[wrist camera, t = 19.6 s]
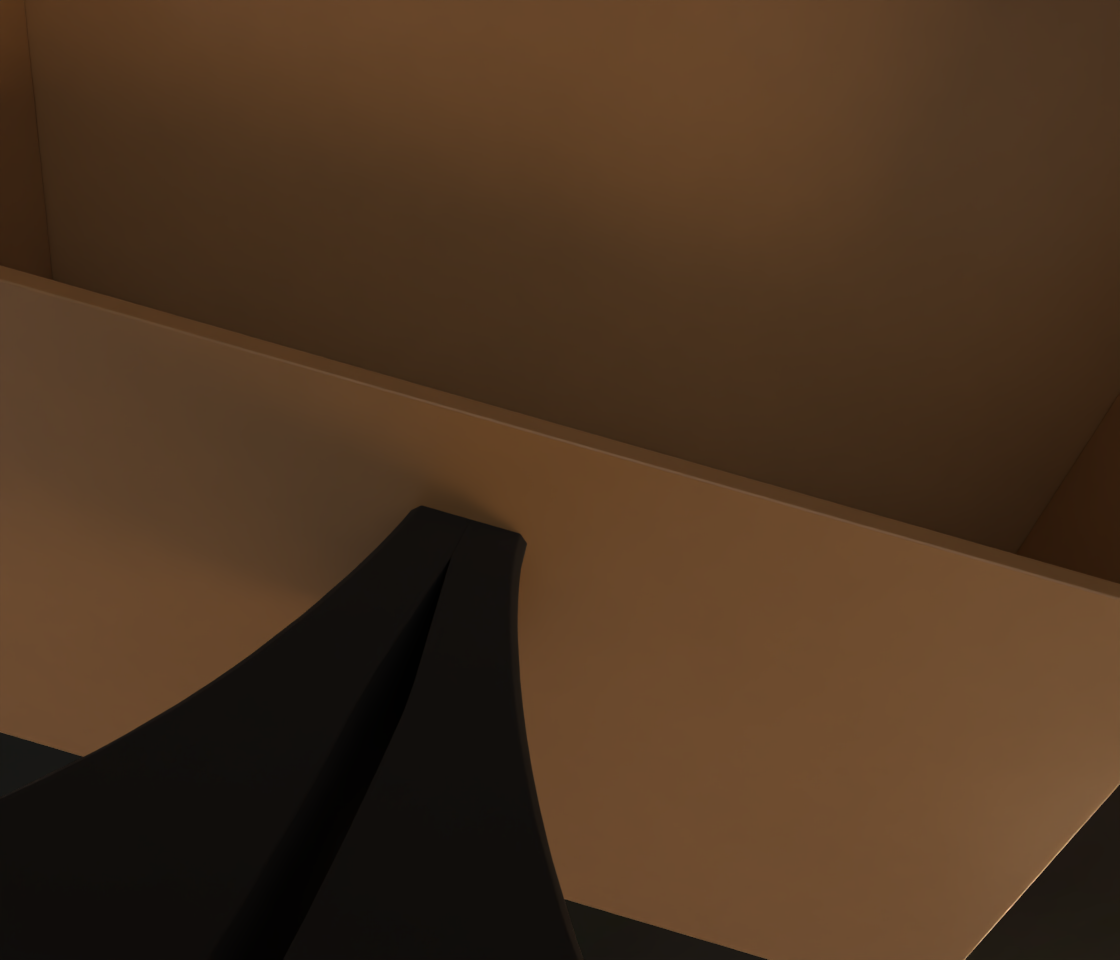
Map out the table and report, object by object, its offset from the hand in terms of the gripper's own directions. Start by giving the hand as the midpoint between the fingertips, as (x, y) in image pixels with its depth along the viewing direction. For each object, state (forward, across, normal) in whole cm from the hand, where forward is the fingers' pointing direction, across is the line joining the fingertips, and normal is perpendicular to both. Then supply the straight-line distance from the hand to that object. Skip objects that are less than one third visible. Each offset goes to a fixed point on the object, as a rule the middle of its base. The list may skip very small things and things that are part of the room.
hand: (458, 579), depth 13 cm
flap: (0, 0, +2) cm, 2 cm away
